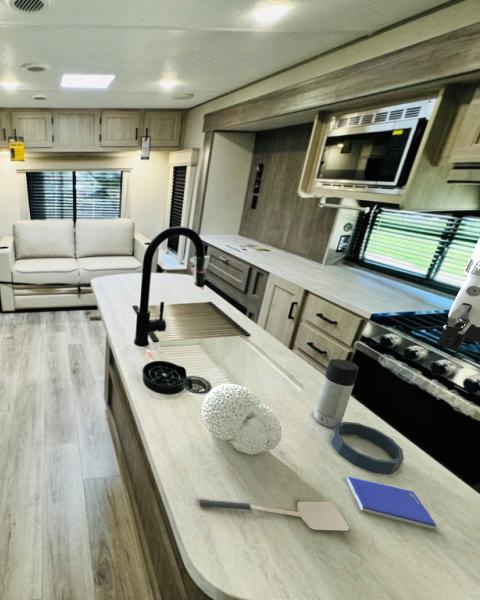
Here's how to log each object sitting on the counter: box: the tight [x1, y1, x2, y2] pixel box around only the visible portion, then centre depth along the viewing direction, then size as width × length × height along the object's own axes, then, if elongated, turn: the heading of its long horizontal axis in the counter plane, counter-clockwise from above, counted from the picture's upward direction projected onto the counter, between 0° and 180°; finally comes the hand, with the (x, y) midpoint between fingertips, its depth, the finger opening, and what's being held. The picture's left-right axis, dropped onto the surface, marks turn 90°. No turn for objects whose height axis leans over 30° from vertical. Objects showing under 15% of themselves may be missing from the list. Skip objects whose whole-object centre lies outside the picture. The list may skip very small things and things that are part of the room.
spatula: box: [198, 499, 350, 532], centre depth 69 cm, size 6×29×2 cm, turn 82°
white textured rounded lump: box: [201, 383, 283, 455], centre depth 88 cm, size 20×18×16 cm
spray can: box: [313, 358, 360, 428], centre depth 91 cm, size 7×7×20 cm
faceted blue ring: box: [330, 421, 405, 476], centre depth 83 cm, size 14×14×4 cm
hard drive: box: [346, 476, 437, 530], centre depth 71 cm, size 2×8×12 cm
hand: (459, 343), depth 70 cm, fingers open, 9 cm apart
